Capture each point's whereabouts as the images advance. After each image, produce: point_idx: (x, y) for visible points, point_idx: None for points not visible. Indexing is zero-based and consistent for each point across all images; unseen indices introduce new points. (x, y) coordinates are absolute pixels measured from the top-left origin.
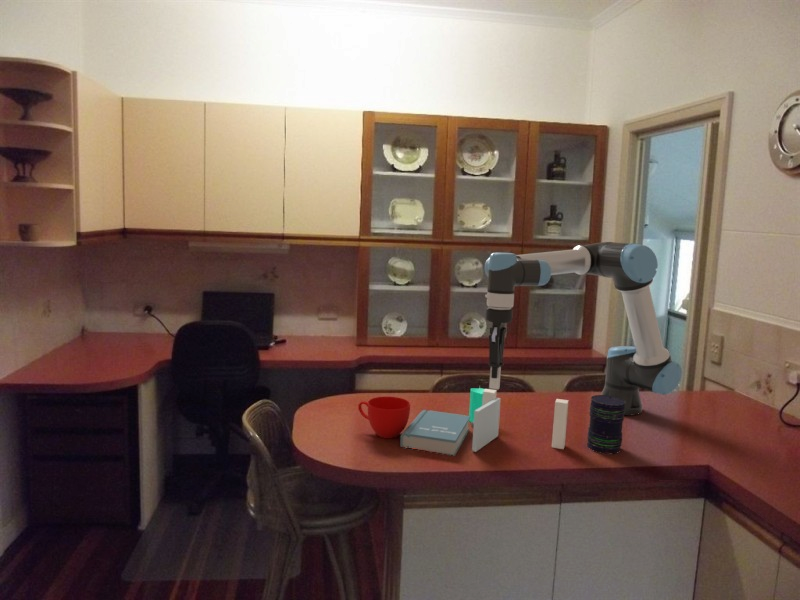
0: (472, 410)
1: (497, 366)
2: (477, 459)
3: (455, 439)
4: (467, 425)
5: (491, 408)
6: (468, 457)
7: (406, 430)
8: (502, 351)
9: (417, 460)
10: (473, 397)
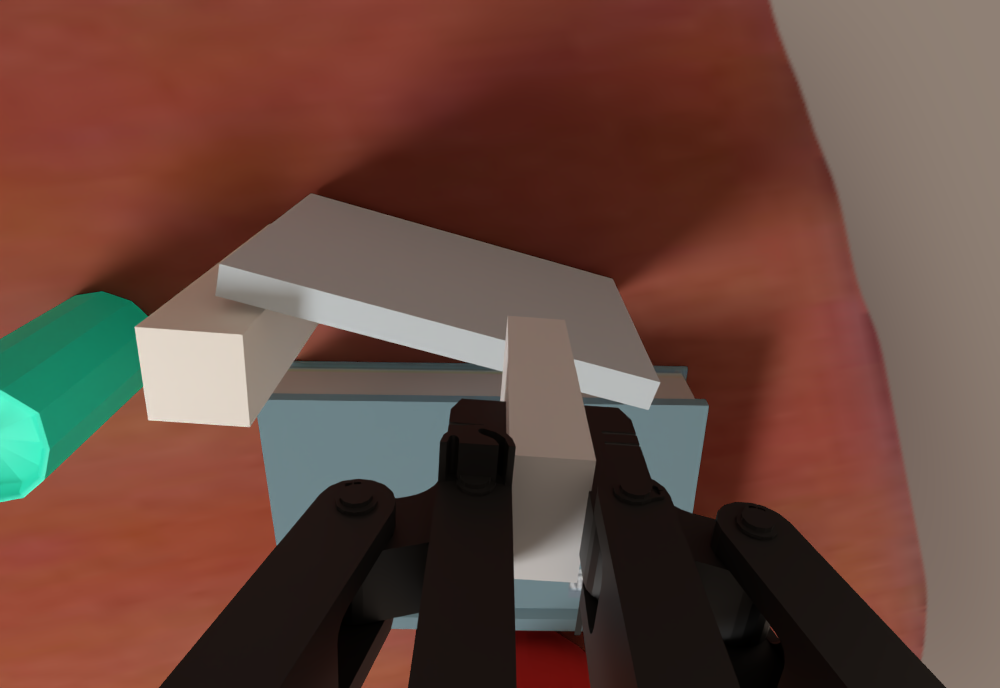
0: (122, 402)
1: (765, 512)
2: (698, 255)
3: (692, 409)
4: (312, 383)
5: (415, 300)
6: (684, 302)
7: None
8: (318, 636)
9: (783, 500)
10: (72, 448)
